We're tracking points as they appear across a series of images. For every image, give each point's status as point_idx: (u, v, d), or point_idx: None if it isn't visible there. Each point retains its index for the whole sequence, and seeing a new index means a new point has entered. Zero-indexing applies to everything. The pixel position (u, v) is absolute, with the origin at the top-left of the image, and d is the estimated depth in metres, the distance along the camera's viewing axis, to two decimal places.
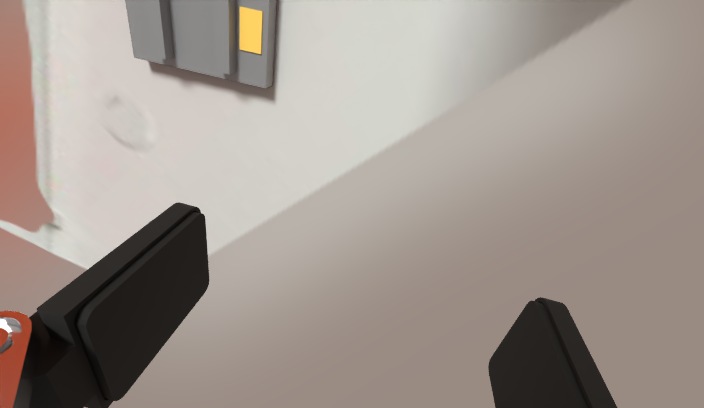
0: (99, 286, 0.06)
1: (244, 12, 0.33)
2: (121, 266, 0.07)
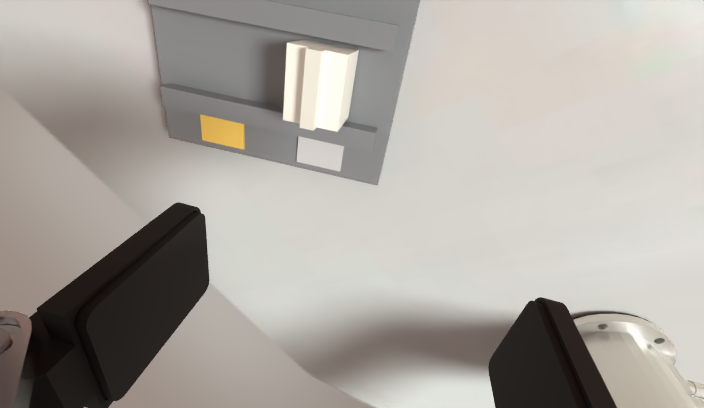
0: (99, 286, 0.06)
1: (238, 128, 0.29)
2: (121, 266, 0.07)
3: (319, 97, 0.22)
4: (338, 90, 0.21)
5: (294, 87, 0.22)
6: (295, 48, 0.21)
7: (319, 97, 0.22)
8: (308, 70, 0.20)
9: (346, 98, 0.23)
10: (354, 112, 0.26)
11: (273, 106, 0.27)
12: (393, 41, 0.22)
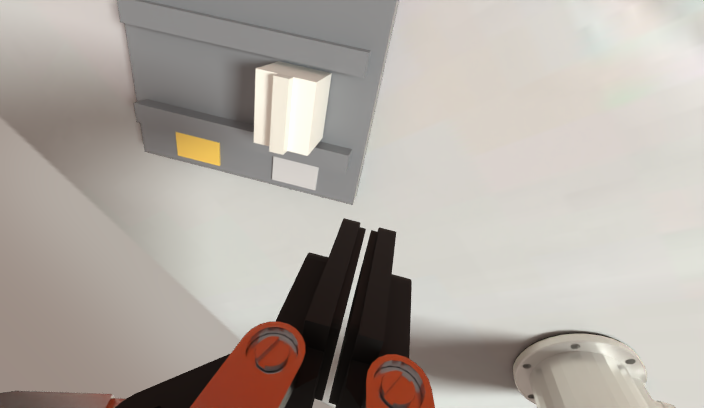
0: (337, 299, 0.07)
1: (213, 145, 0.28)
2: (340, 280, 0.07)
3: (289, 122, 0.22)
4: (308, 115, 0.21)
5: (264, 111, 0.22)
6: (264, 74, 0.21)
7: (288, 122, 0.22)
8: (276, 96, 0.20)
9: (317, 122, 0.23)
10: (328, 133, 0.26)
11: (248, 125, 0.27)
12: (364, 67, 0.22)
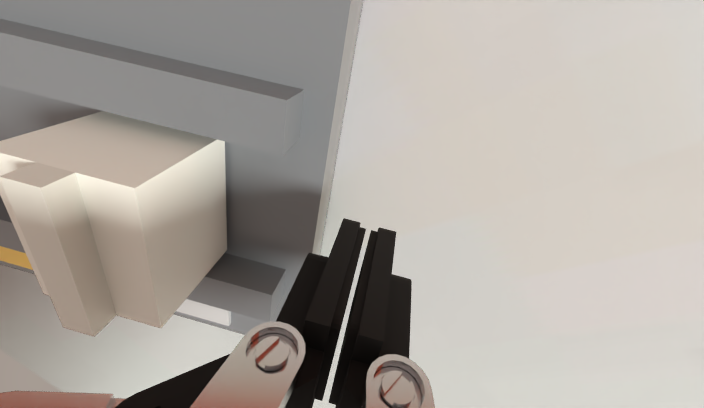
0: (338, 298, 0.07)
1: None
2: (341, 280, 0.07)
3: (99, 267, 0.09)
4: (138, 257, 0.09)
5: None
6: (5, 161, 0.08)
7: (93, 269, 0.09)
8: (29, 225, 0.08)
9: (190, 245, 0.11)
10: (238, 241, 0.13)
11: None
12: (281, 134, 0.09)
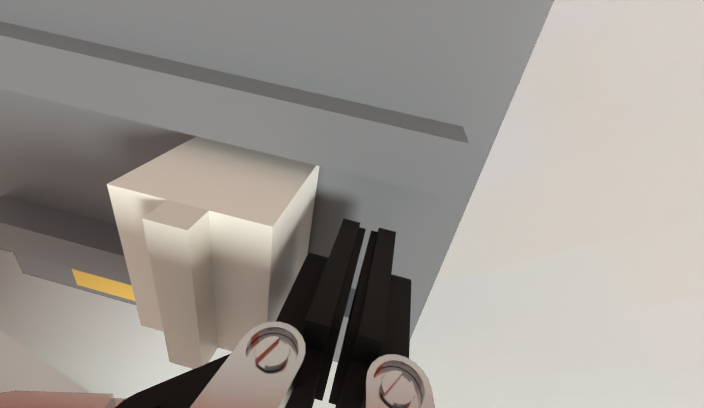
0: (338, 299, 0.07)
1: None
2: (340, 280, 0.07)
3: (213, 302, 0.09)
4: (257, 293, 0.08)
5: (151, 274, 0.09)
6: (132, 198, 0.08)
7: (208, 305, 0.09)
8: (162, 266, 0.07)
9: (289, 273, 0.10)
10: None
11: None
12: (453, 176, 0.09)
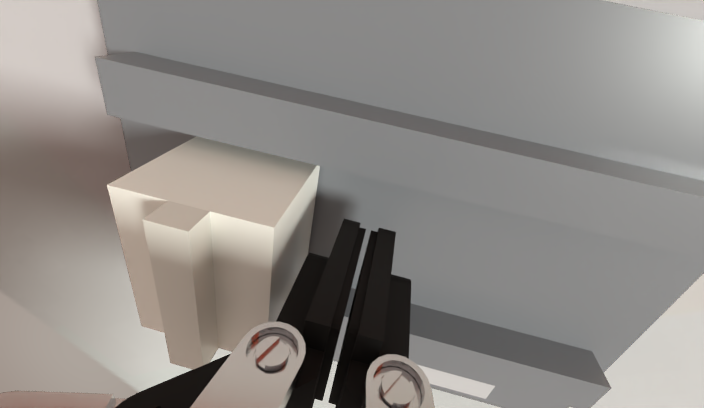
0: (338, 299, 0.07)
1: None
2: (341, 280, 0.07)
3: (214, 302, 0.09)
4: (259, 294, 0.08)
5: (151, 275, 0.09)
6: (132, 199, 0.08)
7: (209, 306, 0.09)
8: (163, 267, 0.07)
9: (290, 274, 0.10)
10: (548, 323, 0.13)
11: None
12: None
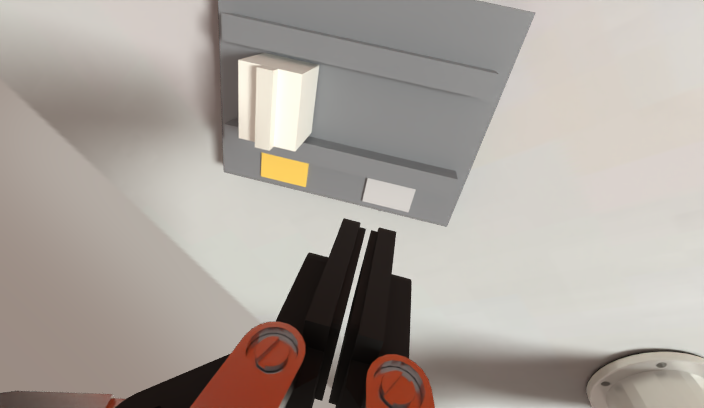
0: (338, 299, 0.07)
1: (302, 166, 0.27)
2: (340, 280, 0.07)
3: (275, 116, 0.21)
4: (294, 109, 0.21)
5: (248, 105, 0.21)
6: (247, 65, 0.20)
7: (274, 116, 0.21)
8: (260, 89, 0.19)
9: (305, 116, 0.22)
10: (432, 155, 0.25)
11: (345, 146, 0.25)
12: (492, 90, 0.21)
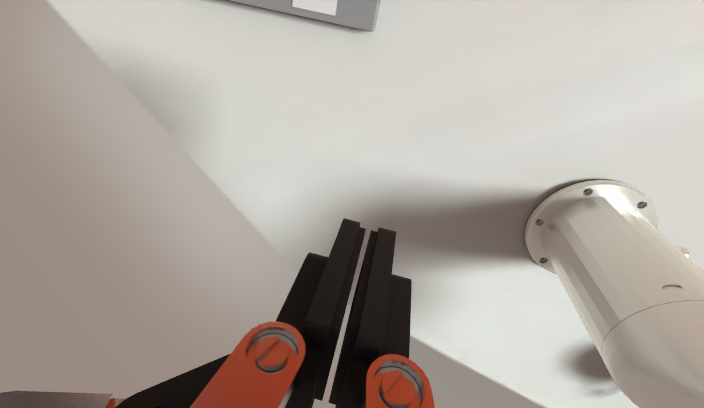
0: (338, 299, 0.07)
1: None
2: (340, 280, 0.07)
3: None
4: None
5: None
6: None
7: None
8: None
9: None
10: None
11: None
12: None
